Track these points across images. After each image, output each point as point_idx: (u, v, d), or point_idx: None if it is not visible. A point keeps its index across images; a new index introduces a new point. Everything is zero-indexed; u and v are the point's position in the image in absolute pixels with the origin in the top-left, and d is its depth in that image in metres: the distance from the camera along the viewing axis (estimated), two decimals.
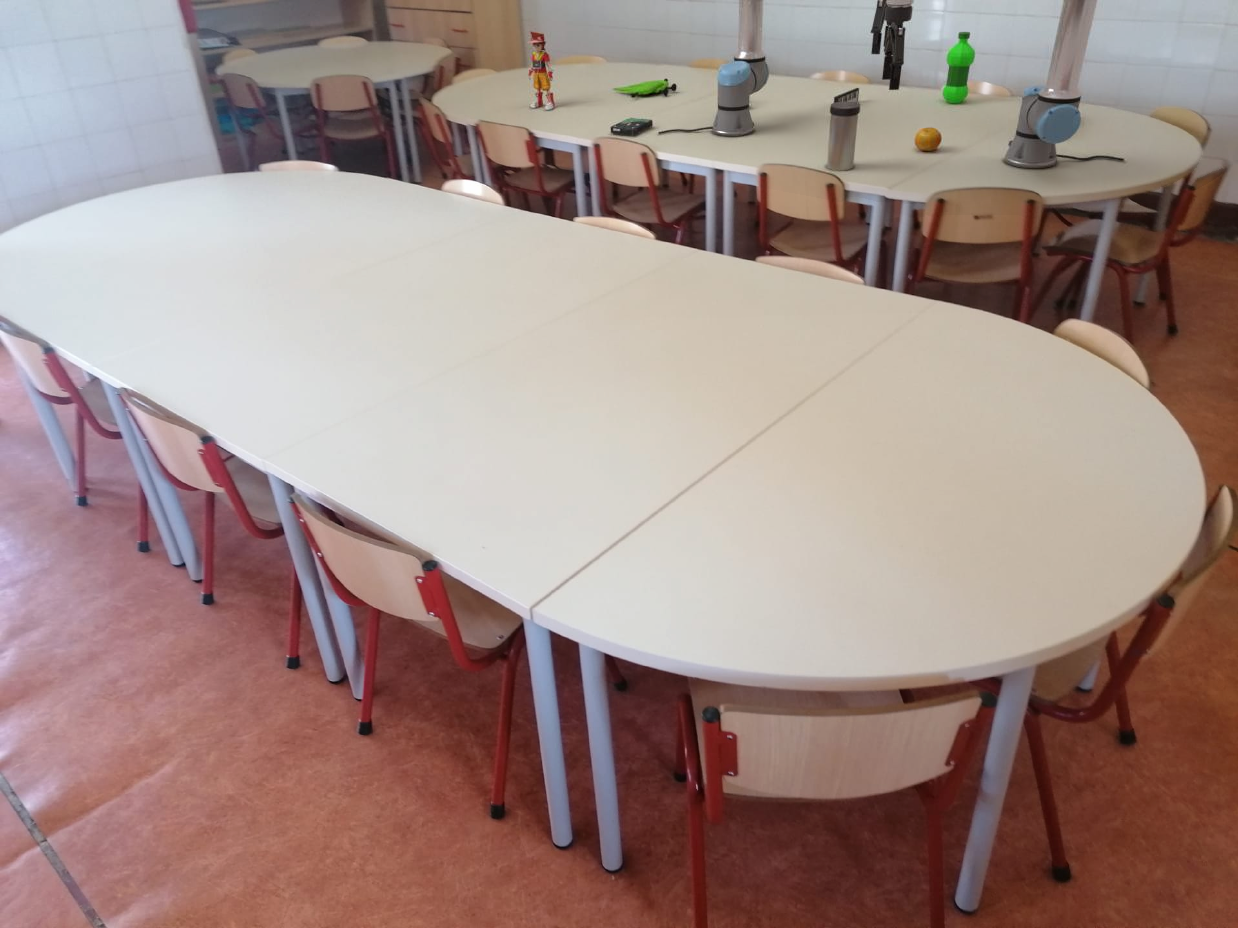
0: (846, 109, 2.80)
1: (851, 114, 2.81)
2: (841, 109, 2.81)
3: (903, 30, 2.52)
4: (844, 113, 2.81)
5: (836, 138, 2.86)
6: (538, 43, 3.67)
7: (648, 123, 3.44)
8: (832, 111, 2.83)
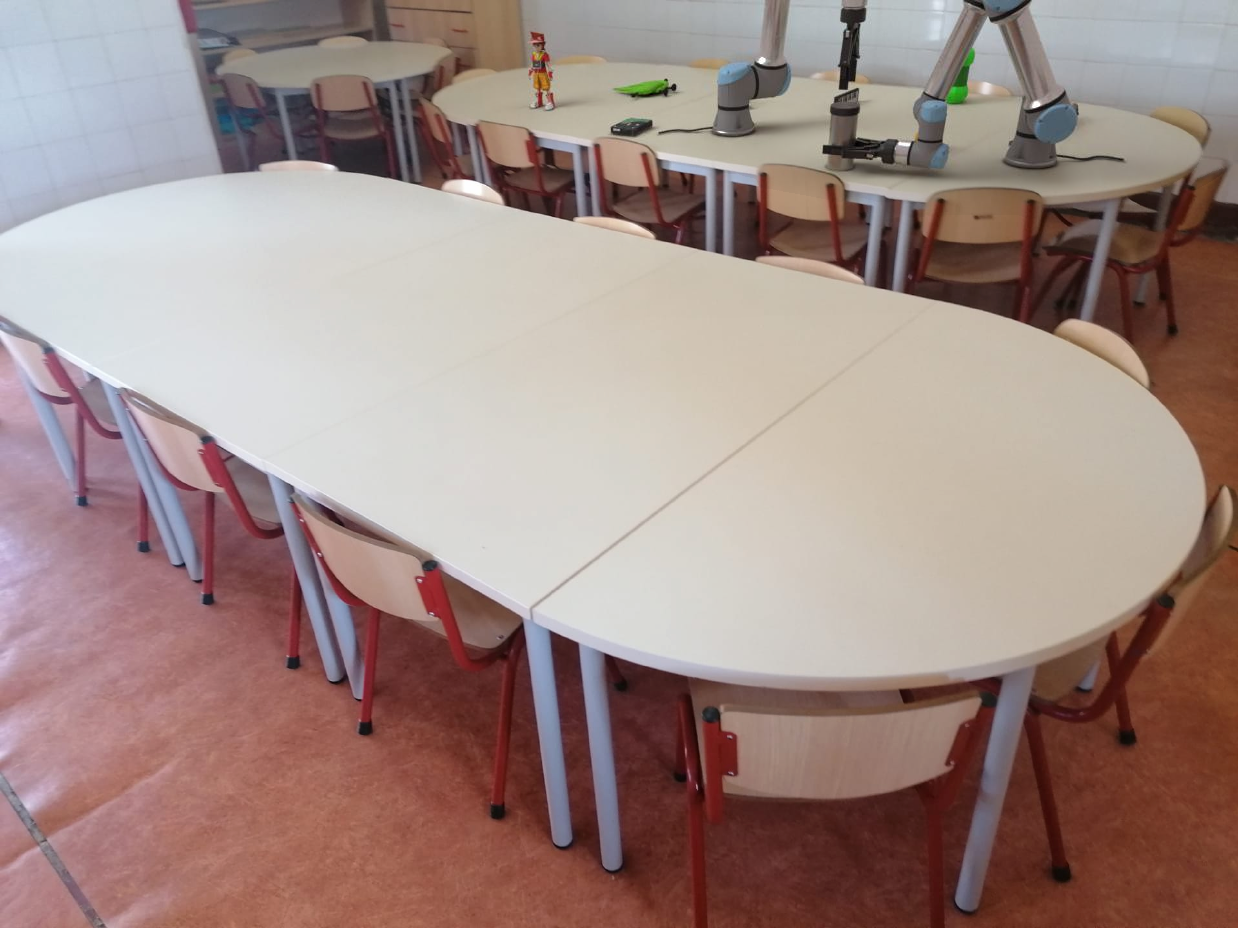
0: (846, 109, 2.80)
1: (851, 114, 2.81)
2: (841, 109, 2.81)
3: None
4: (844, 113, 2.81)
5: (836, 138, 2.86)
6: (538, 43, 3.67)
7: (648, 123, 3.44)
8: (832, 111, 2.83)
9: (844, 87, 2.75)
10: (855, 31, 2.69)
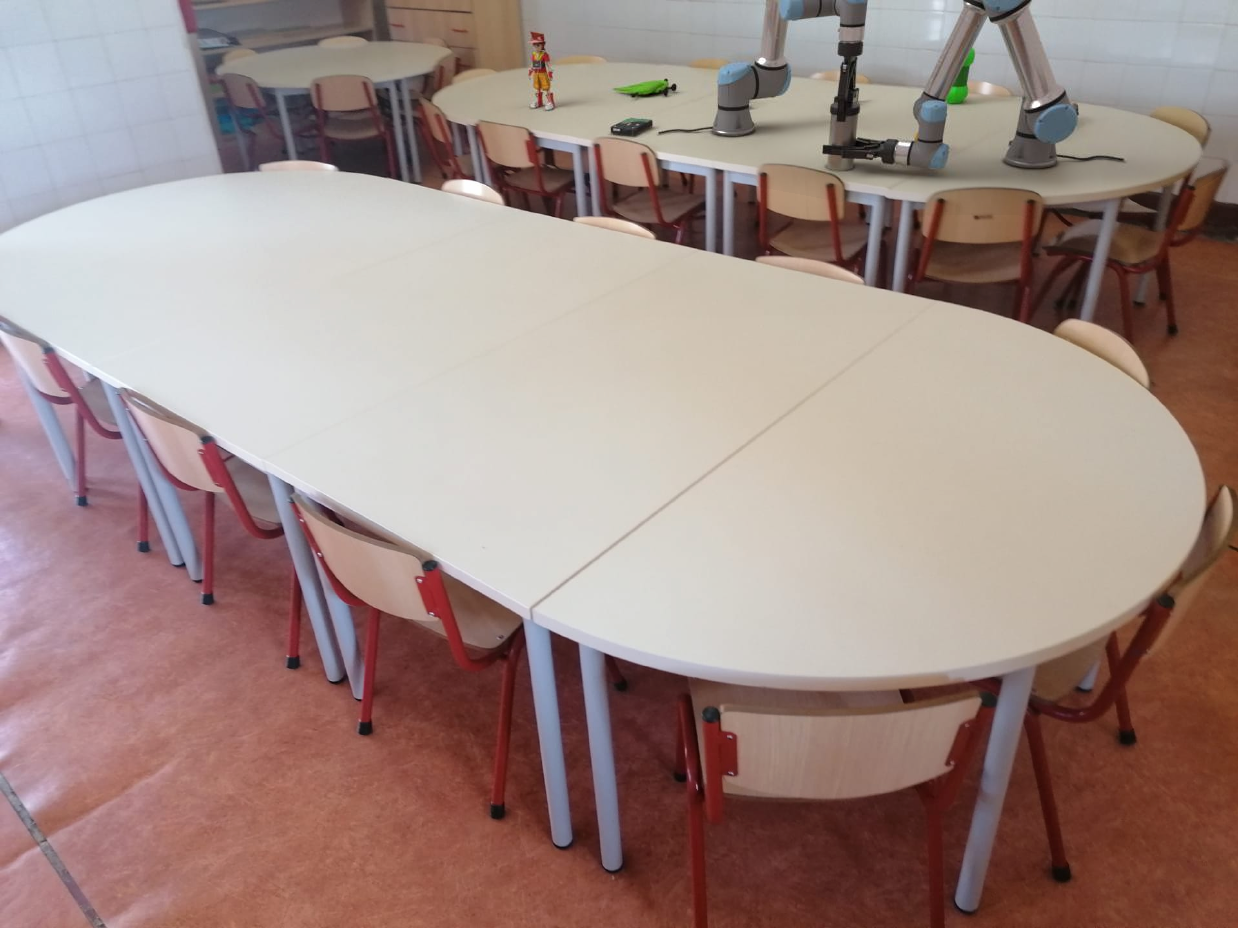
0: None
1: (851, 114, 2.81)
2: None
3: None
4: None
5: (836, 138, 2.86)
6: (538, 43, 3.67)
7: (648, 123, 3.44)
8: (832, 111, 2.83)
9: (842, 119, 2.81)
10: (852, 64, 2.75)
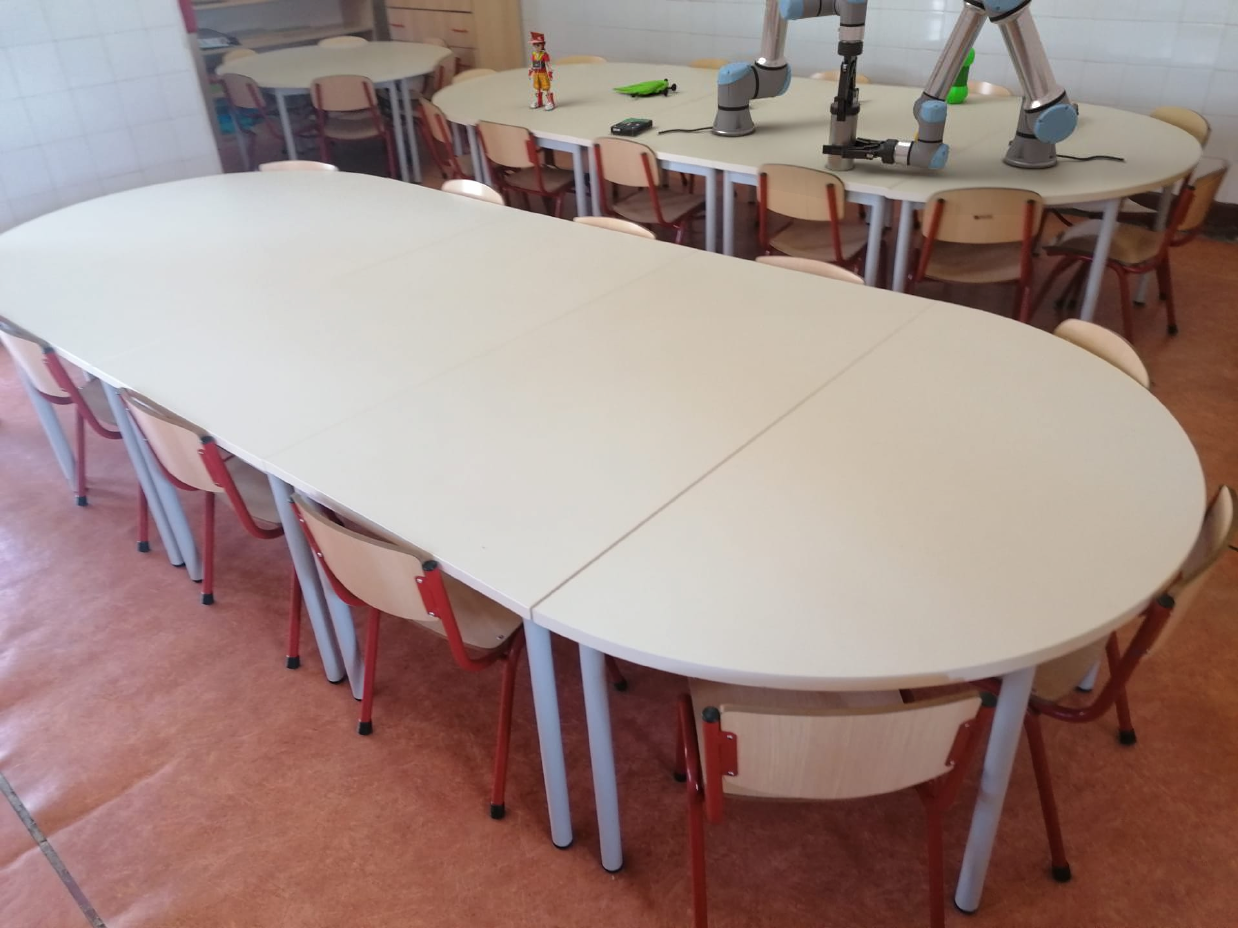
0: (858, 107, 2.81)
1: (859, 111, 2.83)
2: (855, 108, 2.81)
3: None
4: (857, 111, 2.82)
5: (836, 138, 2.86)
6: (538, 43, 3.67)
7: (648, 123, 3.44)
8: None
9: (842, 119, 2.81)
10: (852, 64, 2.75)
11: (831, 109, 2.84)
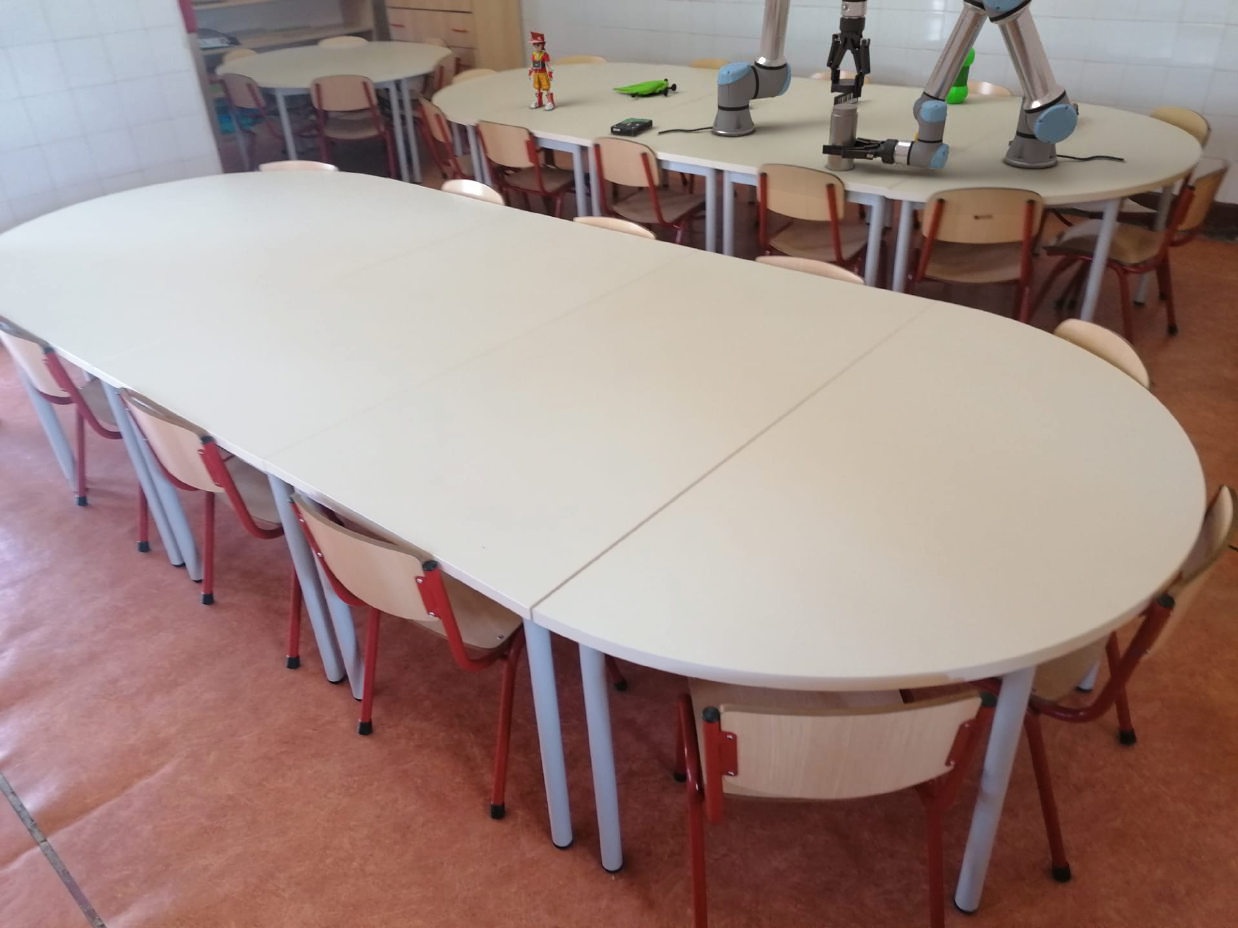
0: None
1: None
2: None
3: None
4: None
5: (836, 138, 2.86)
6: (538, 43, 3.67)
7: (648, 123, 3.44)
8: None
9: (858, 95, 2.78)
10: None
11: (843, 89, 2.77)
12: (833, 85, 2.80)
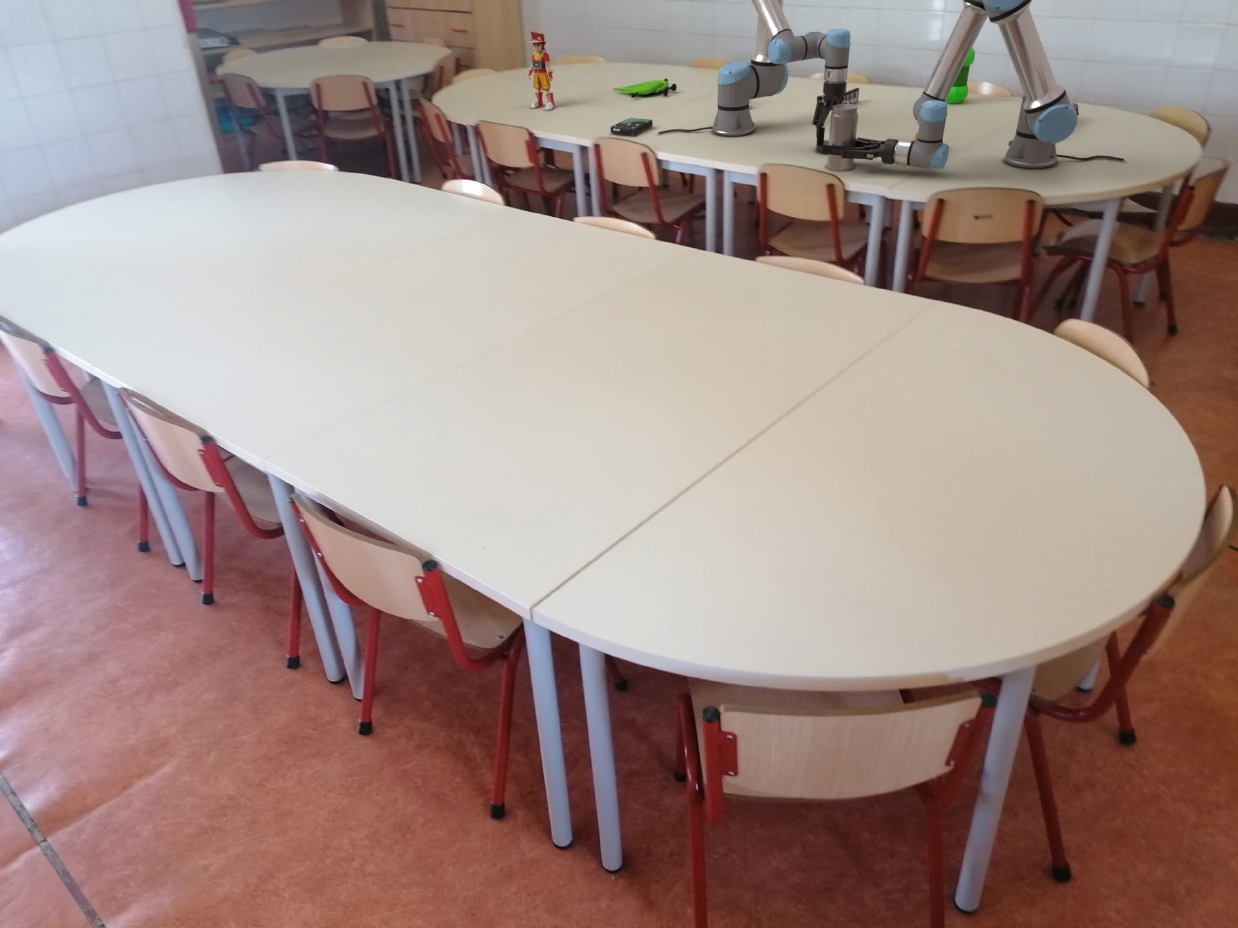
0: None
1: None
2: None
3: None
4: None
5: (836, 138, 2.86)
6: (538, 43, 3.67)
7: (648, 123, 3.44)
8: None
9: None
10: None
11: None
12: (818, 147, 3.08)
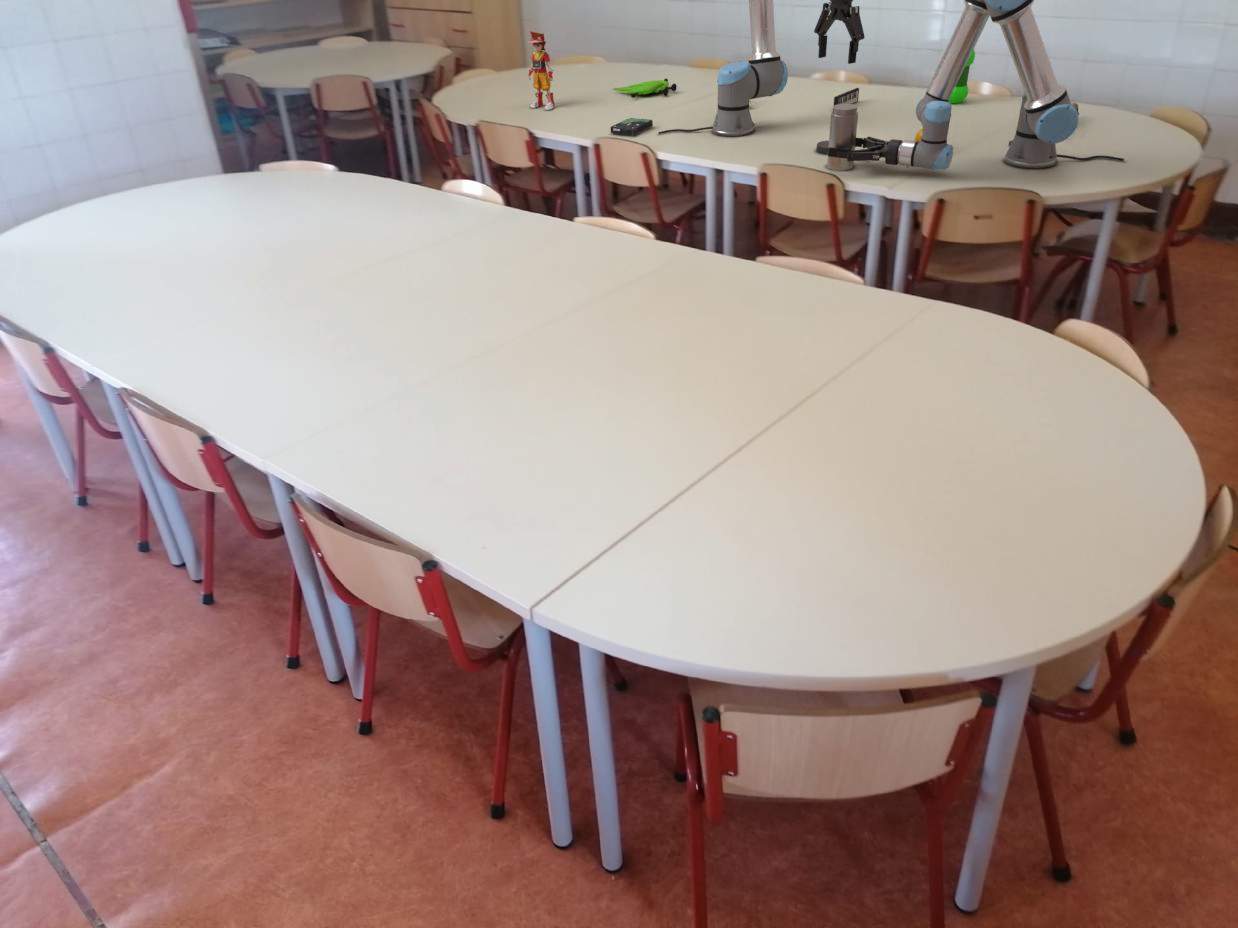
0: None
1: None
2: None
3: None
4: None
5: (836, 138, 2.86)
6: (538, 43, 3.67)
7: (648, 123, 3.44)
8: None
9: (853, 60, 2.88)
10: None
11: (827, 150, 3.06)
12: (818, 147, 3.08)
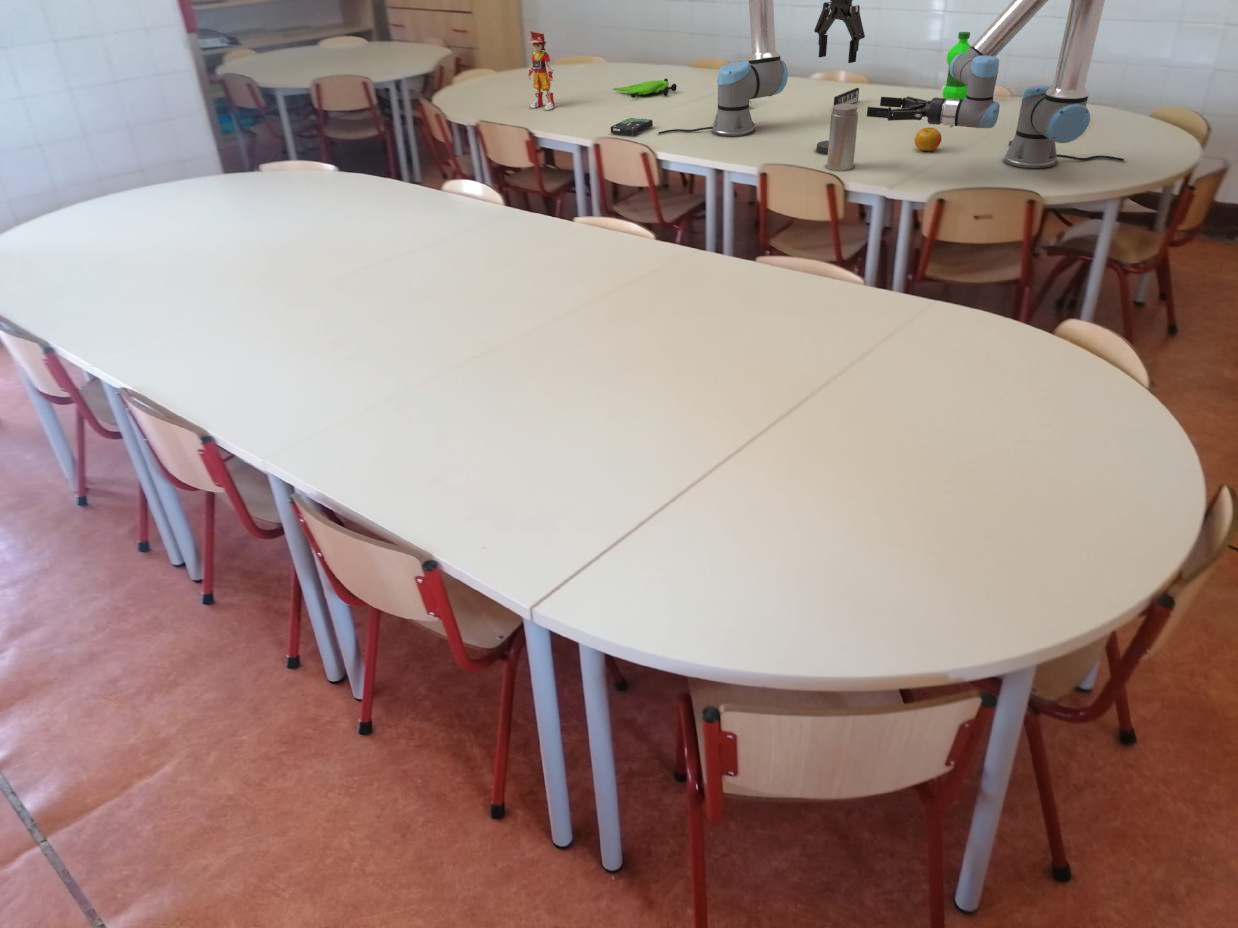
0: None
1: None
2: None
3: None
4: None
5: (836, 138, 2.86)
6: (538, 43, 3.67)
7: (648, 123, 3.44)
8: None
9: (853, 59, 2.88)
10: None
11: (827, 150, 3.06)
12: (818, 147, 3.08)
